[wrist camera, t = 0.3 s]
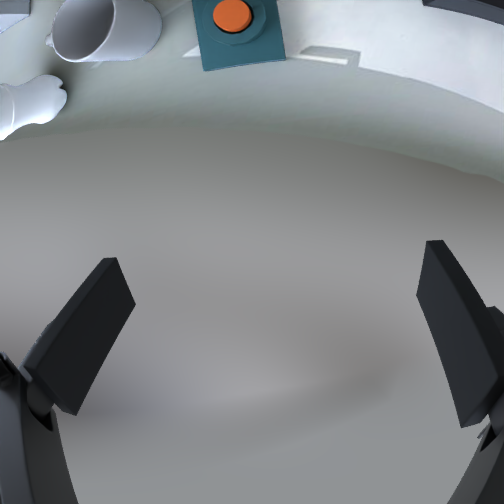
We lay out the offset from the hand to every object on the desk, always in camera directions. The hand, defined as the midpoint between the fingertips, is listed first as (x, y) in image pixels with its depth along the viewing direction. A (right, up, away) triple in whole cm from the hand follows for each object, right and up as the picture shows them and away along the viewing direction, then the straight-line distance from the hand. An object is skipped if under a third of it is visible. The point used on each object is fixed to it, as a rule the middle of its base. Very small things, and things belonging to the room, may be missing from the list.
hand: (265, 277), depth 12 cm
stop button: (-2, +25, +12) cm, 28 cm away
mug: (-17, +29, +17) cm, 37 cm away
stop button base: (-2, +27, +16) cm, 31 cm away
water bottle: (-29, +24, +22) cm, 43 cm away
